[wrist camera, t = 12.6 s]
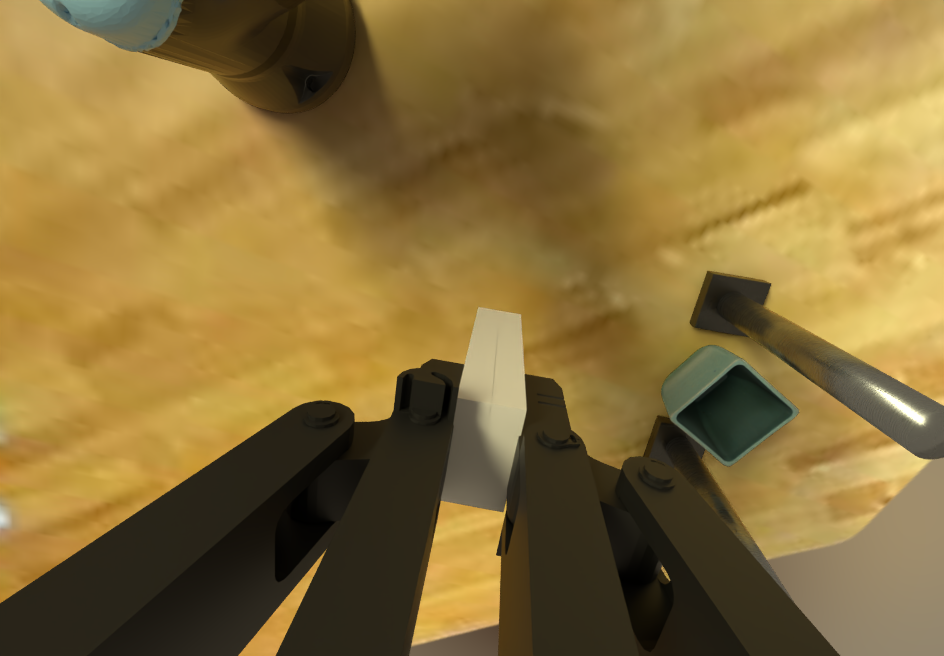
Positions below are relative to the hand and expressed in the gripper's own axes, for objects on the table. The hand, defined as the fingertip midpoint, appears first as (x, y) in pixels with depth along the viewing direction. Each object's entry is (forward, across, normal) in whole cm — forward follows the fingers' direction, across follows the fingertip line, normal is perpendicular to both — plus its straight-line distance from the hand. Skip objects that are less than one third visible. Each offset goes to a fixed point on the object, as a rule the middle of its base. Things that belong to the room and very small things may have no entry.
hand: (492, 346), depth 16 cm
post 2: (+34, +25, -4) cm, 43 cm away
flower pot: (+35, +25, -13) cm, 45 cm away
